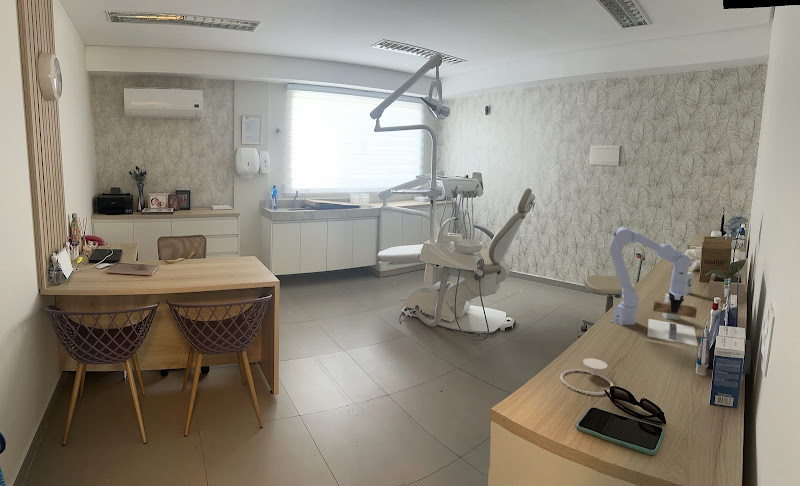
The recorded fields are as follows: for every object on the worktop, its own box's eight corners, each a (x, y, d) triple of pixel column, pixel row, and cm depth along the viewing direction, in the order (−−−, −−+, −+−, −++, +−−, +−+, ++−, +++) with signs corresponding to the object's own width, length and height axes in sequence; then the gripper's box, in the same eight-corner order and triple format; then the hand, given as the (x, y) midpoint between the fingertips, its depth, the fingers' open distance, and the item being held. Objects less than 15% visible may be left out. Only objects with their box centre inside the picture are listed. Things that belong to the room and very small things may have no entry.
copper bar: (653, 310, 208) (654, 302, 207) (653, 309, 211) (654, 300, 210) (695, 318, 201) (697, 309, 200) (694, 315, 203) (696, 307, 203)
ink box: (691, 293, 263) (694, 273, 261) (685, 294, 261) (688, 273, 259) (677, 289, 271) (680, 269, 269) (671, 290, 269) (674, 269, 267)
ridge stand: (697, 348, 189) (699, 336, 188) (647, 338, 198) (648, 327, 197) (693, 328, 210) (695, 318, 209) (648, 320, 218) (649, 310, 217)
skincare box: (674, 318, 223) (678, 294, 220) (679, 321, 218) (683, 297, 216) (661, 317, 223) (665, 293, 221) (665, 320, 219) (669, 296, 217)
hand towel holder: (553, 372, 156) (574, 352, 172) (552, 384, 157) (573, 363, 173) (606, 389, 146) (624, 366, 162) (605, 402, 147) (622, 378, 162)
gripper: (690, 286, 195) (685, 318, 197) (688, 278, 207) (683, 308, 210) (671, 284, 198) (666, 314, 201) (670, 276, 210) (665, 305, 213)
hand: (673, 311), depth 206 cm, fingers closed on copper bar, 3 cm apart
